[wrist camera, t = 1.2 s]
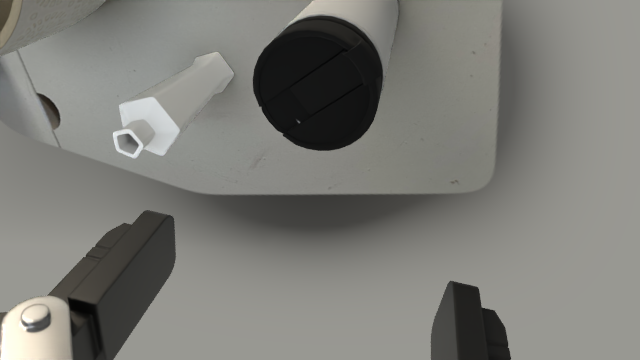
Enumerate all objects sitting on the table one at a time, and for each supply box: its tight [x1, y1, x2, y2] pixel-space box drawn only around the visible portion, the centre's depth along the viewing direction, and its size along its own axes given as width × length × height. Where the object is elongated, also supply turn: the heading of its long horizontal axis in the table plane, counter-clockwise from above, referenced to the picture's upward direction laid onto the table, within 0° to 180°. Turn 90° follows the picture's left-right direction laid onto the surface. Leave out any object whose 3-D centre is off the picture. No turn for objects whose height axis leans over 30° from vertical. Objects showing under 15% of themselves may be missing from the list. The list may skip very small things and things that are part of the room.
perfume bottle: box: [113, 52, 234, 158], centre depth 37 cm, size 5×4×15 cm
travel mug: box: [253, 0, 399, 151], centre depth 30 cm, size 6×7×20 cm
